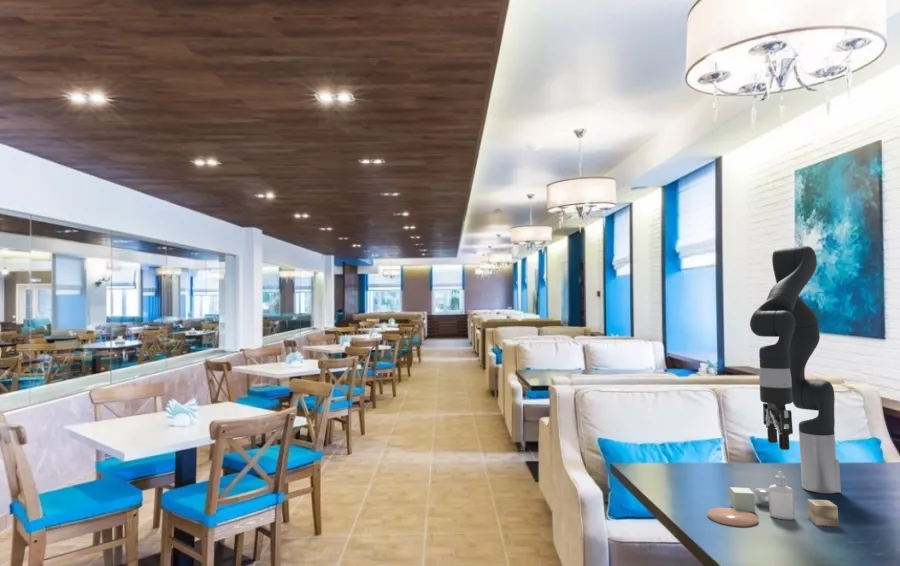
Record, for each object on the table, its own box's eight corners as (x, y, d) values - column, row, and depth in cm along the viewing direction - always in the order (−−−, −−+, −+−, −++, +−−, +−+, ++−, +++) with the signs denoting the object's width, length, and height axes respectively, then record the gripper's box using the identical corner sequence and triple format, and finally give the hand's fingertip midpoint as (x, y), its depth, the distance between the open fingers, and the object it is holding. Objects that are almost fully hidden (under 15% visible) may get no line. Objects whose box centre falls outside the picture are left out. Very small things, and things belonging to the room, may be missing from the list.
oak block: (829, 519, 146) (828, 500, 147) (838, 526, 141) (837, 506, 142) (808, 518, 147) (807, 499, 148) (816, 525, 142) (815, 505, 143)
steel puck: (771, 502, 160) (770, 488, 160) (778, 508, 155) (777, 493, 155) (752, 501, 161) (751, 487, 161) (758, 507, 156) (757, 492, 156)
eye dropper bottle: (790, 522, 145) (787, 475, 145) (767, 516, 149) (765, 470, 150) (797, 518, 147) (794, 472, 148) (774, 512, 152) (772, 467, 152)
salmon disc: (749, 511, 152) (749, 508, 153) (764, 528, 141) (764, 524, 141) (702, 509, 155) (702, 506, 155) (713, 525, 143) (713, 521, 143)
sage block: (749, 506, 158) (748, 488, 158) (755, 512, 153) (754, 493, 153) (730, 505, 159) (729, 487, 159) (735, 511, 154) (734, 492, 154)
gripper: (801, 388, 143) (804, 452, 142) (781, 382, 157) (783, 440, 155) (769, 387, 144) (772, 451, 143) (751, 381, 158) (754, 439, 157)
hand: (778, 445), depth 149 cm, fingers open, 8 cm apart
